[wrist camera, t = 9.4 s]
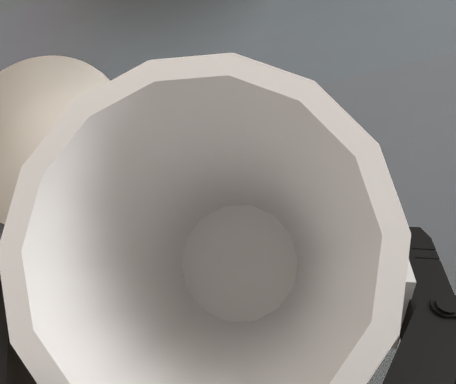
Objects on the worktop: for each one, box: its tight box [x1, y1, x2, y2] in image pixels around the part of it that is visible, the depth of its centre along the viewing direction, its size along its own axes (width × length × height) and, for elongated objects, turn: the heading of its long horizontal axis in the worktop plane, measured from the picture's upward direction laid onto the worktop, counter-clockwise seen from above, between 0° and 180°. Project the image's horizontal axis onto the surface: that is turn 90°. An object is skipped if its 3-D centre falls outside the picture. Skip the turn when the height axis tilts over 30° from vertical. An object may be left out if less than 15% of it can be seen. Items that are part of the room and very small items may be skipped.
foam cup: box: [0, 53, 411, 384], centre depth 16 cm, size 10×9×13 cm
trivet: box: [0, 55, 110, 224], centre depth 33 cm, size 14×14×1 cm
